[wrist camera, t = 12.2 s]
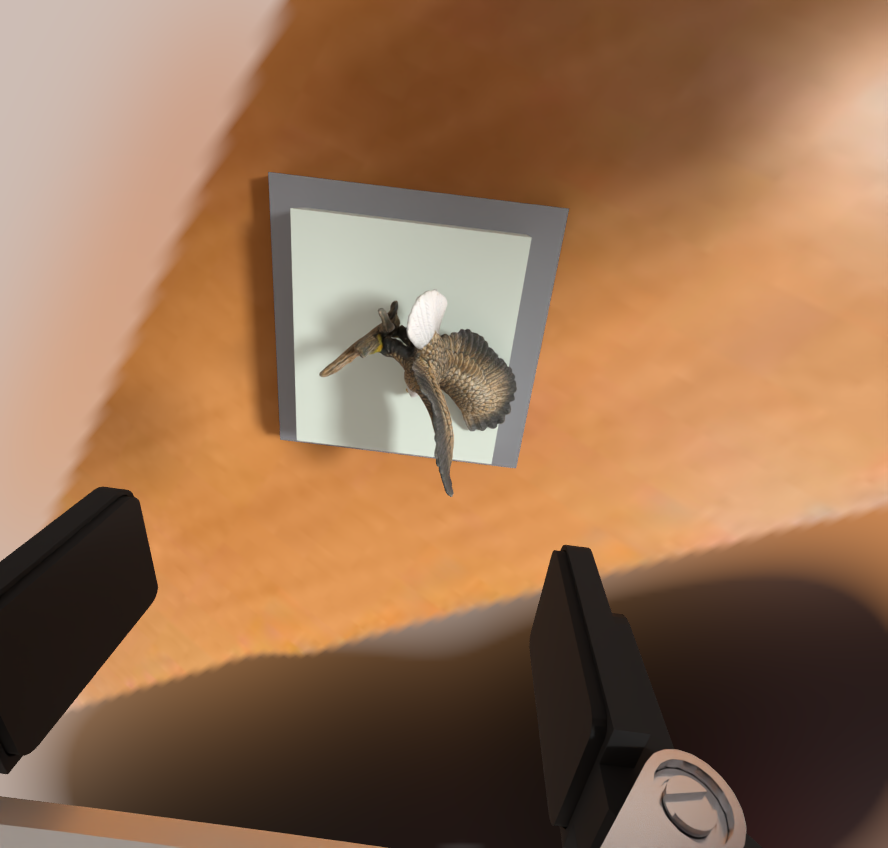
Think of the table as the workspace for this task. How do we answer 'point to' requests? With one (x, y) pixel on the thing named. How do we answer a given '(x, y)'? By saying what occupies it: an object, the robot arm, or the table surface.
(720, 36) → the table surface
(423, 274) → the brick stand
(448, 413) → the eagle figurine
